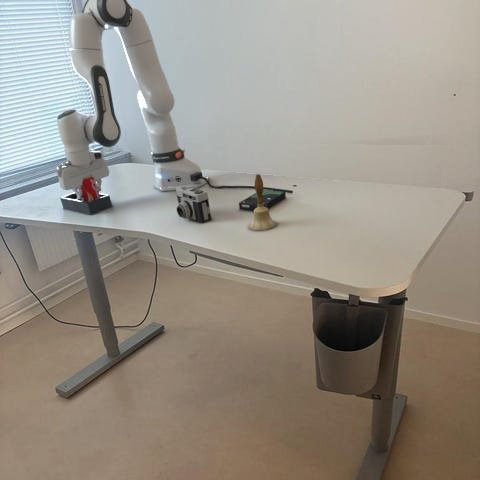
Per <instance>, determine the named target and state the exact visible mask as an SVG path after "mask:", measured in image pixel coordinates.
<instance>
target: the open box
mask: <svg viewBox="0 0 480 480" xmlns="http://www.w3.org/2000/svg"><path fill="white" fill-rule="evenodd" d="M77 191H78V192H79V190H77ZM99 194H100V198H98V199H96V200H93V201H90V202H83V201H82V199H78V198H77V194H76V193H75V192H74V191H73V192H72V193H68V194H66V195H63V196H61V197H59V199H60V202H61V206H62V208H63V210H67V211H72V212H76V213H80V214H85V215H89V216H92V215H95V214H97V213H100V212H102V211H104V210H107V209H109V208H112V207H113V204H112V200H111V197H110V196H111V195H110V194H106V193H100V192H99Z"/></svg>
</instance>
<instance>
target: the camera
mask: <svg viewBox="0 0 480 480" xmlns="http://www.w3.org/2000/svg"><path fill="white" fill-rule="evenodd" d="M175 193H176V199H177V203H178V204H177V207H176V213H177V215H178V216H179V217H180V218H182V219H187V220H188V219H189V220H191V221H195V222H198V223H199V224H204V223H207V222H209V221H211V220H212V212H211V207H210V202H209V195H208V194H209V193H208V191H205V190H203V189H200V188H194V187H190V186H182V187H179V188H176V190H175Z"/></svg>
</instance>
